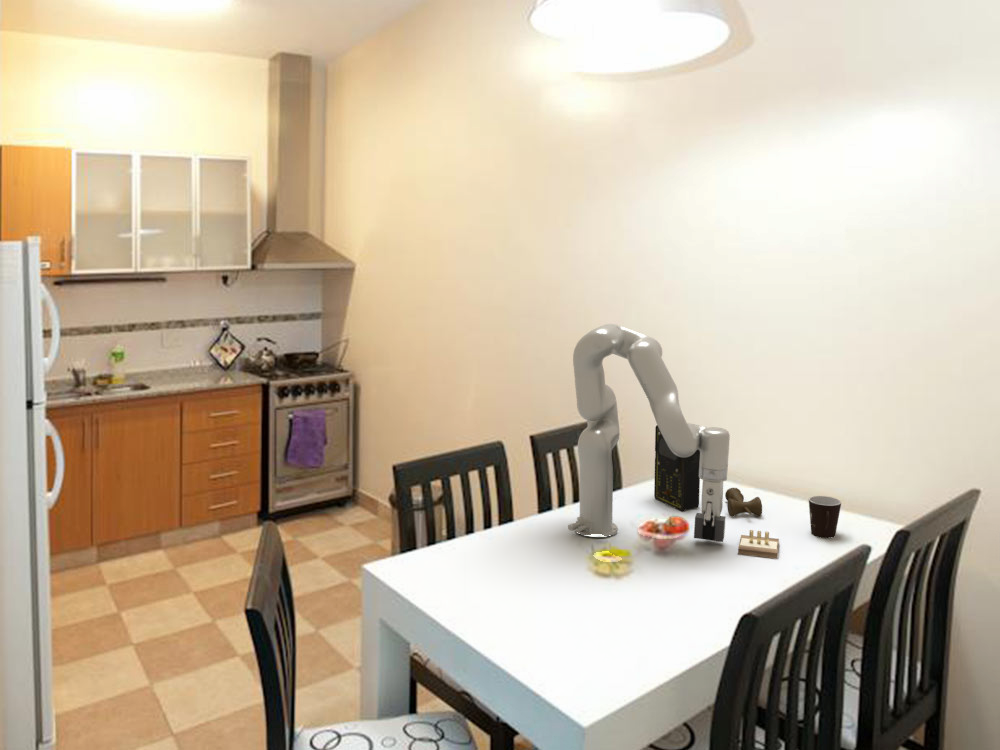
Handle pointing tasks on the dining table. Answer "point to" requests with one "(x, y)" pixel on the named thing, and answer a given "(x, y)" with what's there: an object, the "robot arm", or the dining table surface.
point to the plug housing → (718, 524)
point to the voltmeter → (675, 476)
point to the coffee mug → (824, 515)
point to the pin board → (758, 545)
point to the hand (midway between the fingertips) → (709, 535)
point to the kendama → (742, 503)
